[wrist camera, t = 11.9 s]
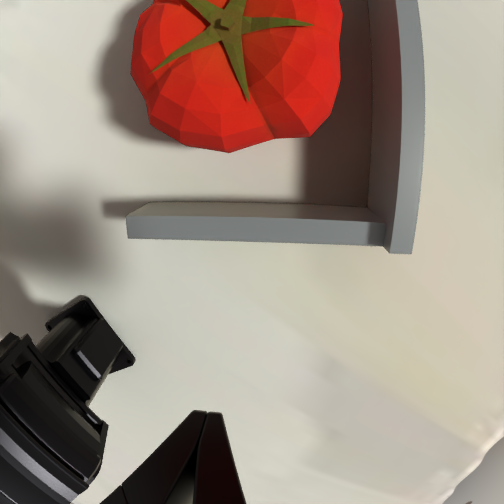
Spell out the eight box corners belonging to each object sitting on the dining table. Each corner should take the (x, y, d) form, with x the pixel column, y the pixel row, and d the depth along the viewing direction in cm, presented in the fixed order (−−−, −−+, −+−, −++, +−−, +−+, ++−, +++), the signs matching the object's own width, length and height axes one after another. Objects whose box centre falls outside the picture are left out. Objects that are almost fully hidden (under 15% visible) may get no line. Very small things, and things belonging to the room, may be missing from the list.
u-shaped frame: (151, 220, 19) (119, 244, 15) (160, -53, 12) (137, -85, 8) (383, 228, 18) (411, 254, 14) (377, -51, 11) (397, -84, 7)
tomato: (331, -10, 13) (354, -66, 7) (323, 158, 17) (349, 168, 11) (171, -13, 13) (131, -62, 7) (155, 148, 17) (99, 156, 11)
